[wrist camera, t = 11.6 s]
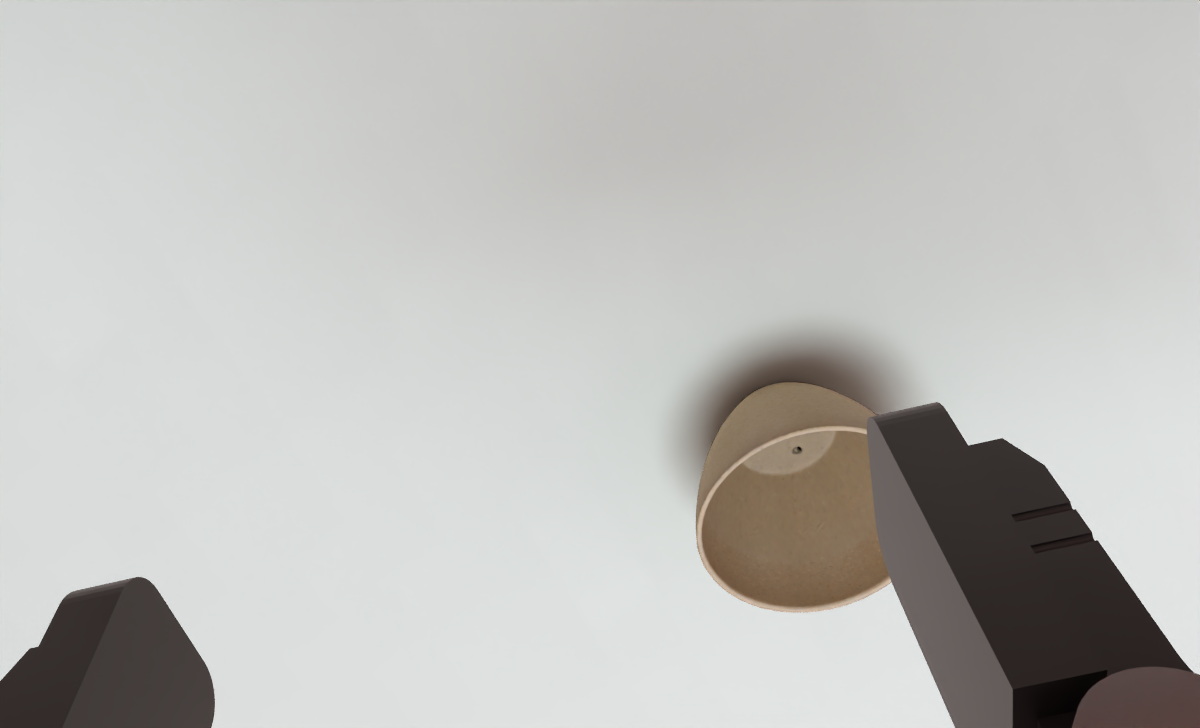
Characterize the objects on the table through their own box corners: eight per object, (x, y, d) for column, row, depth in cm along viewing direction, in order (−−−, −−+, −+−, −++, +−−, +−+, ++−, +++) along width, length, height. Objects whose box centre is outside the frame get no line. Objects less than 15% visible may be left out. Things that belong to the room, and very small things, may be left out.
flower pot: (918, 354, 47) (978, 450, 41) (839, 518, 52) (882, 625, 46) (710, 315, 45) (740, 410, 39) (649, 490, 50) (668, 598, 44)
